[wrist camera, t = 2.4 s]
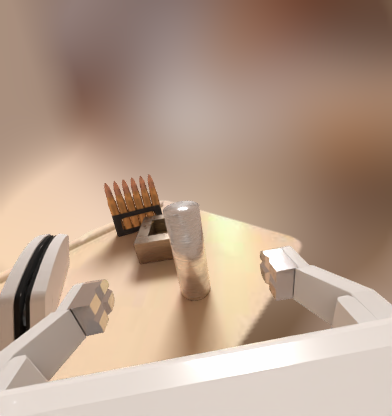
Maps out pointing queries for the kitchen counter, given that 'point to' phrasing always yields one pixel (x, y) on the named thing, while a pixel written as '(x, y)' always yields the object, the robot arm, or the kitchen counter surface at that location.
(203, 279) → the pin
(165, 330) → the kitchen counter surface
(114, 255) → the kitchen counter surface
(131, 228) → the ammunition clip
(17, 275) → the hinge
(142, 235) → the square nut block
